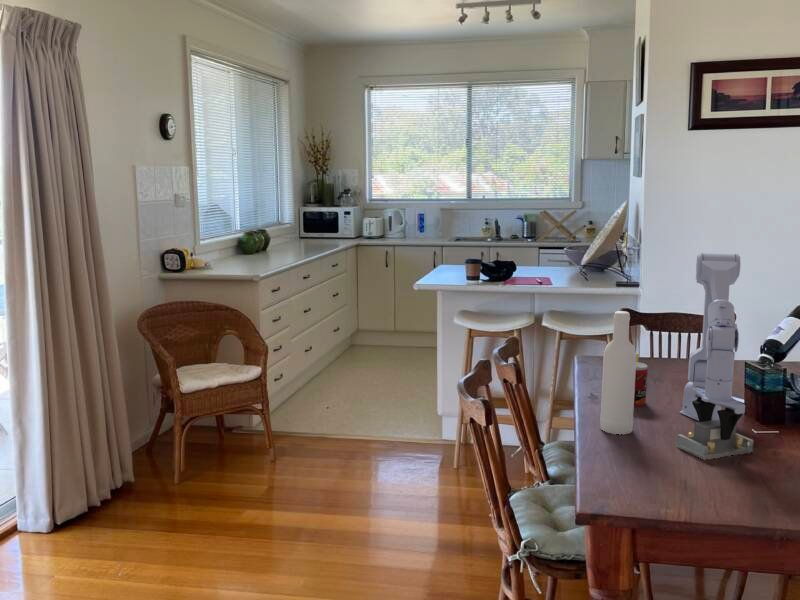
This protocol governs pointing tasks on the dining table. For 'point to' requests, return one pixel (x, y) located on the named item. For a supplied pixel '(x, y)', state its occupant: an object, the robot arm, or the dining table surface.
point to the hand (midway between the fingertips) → (715, 434)
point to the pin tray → (719, 452)
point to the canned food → (640, 384)
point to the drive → (712, 434)
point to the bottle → (618, 379)
